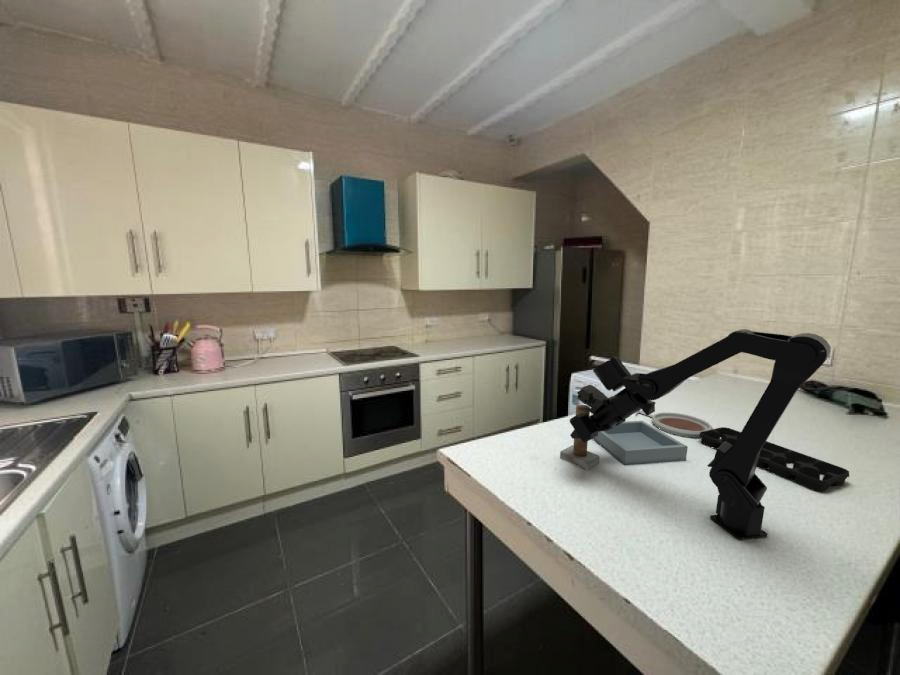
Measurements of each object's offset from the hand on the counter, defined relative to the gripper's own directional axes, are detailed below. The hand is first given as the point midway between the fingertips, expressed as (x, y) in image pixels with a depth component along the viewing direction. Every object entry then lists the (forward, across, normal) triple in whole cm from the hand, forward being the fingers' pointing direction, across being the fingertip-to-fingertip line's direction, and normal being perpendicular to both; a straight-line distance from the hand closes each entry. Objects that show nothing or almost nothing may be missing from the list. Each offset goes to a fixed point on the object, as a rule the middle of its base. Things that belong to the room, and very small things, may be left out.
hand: (576, 434), depth 96 cm
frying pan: (+2, -47, +9) cm, 48 cm away
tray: (0, -19, +10) cm, 22 cm away
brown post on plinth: (+4, 0, +6) cm, 7 cm away
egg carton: (-18, -39, +29) cm, 52 cm away
